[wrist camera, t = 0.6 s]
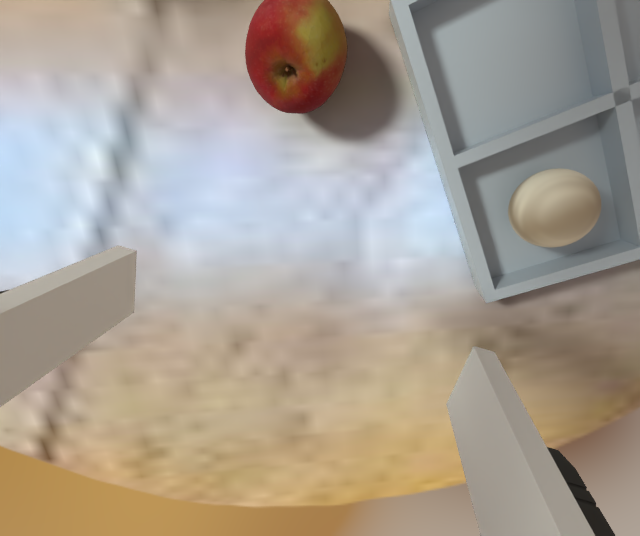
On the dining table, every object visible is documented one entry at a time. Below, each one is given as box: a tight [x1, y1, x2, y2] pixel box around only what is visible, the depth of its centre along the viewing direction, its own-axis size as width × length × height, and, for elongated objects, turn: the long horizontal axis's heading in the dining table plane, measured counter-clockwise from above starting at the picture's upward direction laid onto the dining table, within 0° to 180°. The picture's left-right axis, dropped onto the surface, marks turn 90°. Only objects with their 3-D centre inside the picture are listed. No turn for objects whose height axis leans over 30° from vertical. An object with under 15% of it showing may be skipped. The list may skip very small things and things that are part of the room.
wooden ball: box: [508, 168, 601, 247], centre depth 27 cm, size 6×6×6 cm
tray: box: [389, 0, 640, 303], centre depth 26 cm, size 25×25×4 cm
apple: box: [245, 0, 347, 113], centre depth 27 cm, size 8×8×8 cm
